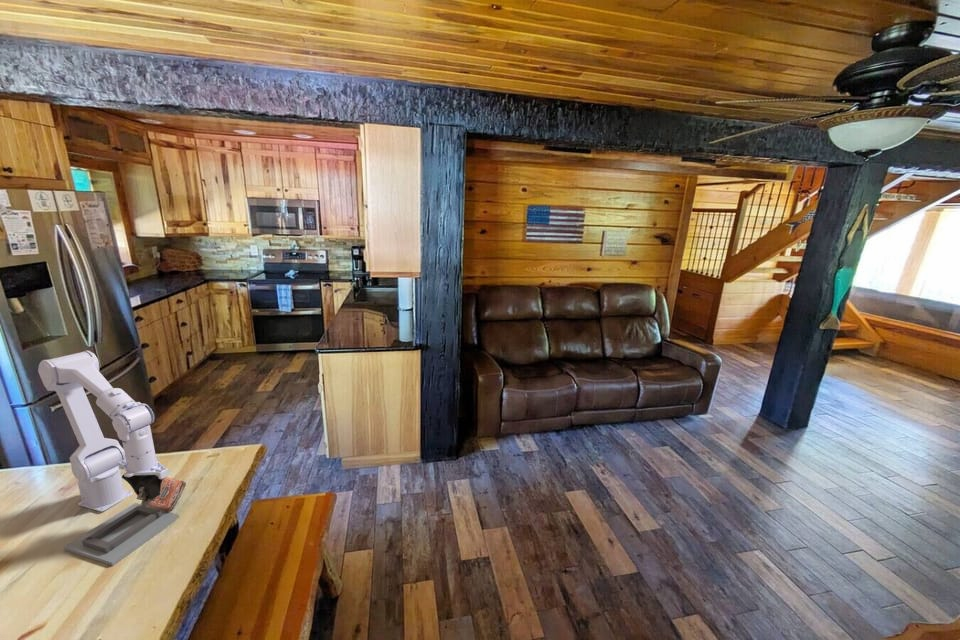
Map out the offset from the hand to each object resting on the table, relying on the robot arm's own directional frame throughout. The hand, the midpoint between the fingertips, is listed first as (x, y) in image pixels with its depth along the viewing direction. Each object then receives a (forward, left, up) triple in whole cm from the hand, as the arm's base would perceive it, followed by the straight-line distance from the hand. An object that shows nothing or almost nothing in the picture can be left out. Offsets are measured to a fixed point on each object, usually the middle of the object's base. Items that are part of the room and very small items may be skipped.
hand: (148, 495), depth 102 cm
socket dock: (-2, -5, -8) cm, 10 cm away
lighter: (+2, +6, -5) cm, 8 cm away
